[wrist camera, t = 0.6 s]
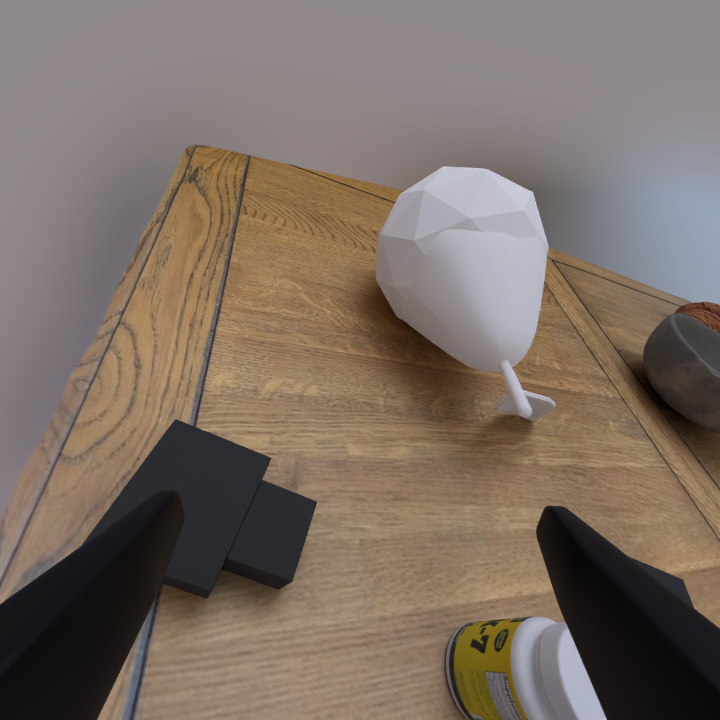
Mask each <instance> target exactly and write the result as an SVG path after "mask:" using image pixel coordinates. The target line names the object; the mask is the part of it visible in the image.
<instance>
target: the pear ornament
mask: <svg viewBox="0 0 720 720" xmlns="http://www.w3.org/2000/svg"><path fill="white" fill-rule="evenodd" d="M548 249H549V247H548V243H547V240H546V236H545V233H544V229H543V226H542V223H541V219H540V215H539V212H538V209H537V205H536V202H535V198H534V195H533V192H531V191H529V190H527V189H525V188H523V187H521V186H519V185H517V184H515V183H513V182H511V181H510V180H508V179H506V178H504V177H502V176H500V175H498V174H496V173H494V172H492V171H490V170H488V169H480V168H479V169H477V168H462V167H444V166H443V167H442V168H440V169H439V170H437V171H436V172H434V173H433V174H431V175H429V176H428V177H426V178H425V179H423V180H421V181H420V182H418V183H417V184H415V185H414V186H412V187H411V188H409V189H407V190H406V191H404V192H402V193H401V194H400V195H399V197H398V199H397V200H396V202H395V204H394V206H393V208H392V210H391V212H390V214H389V216H388V218H387V220H386V222H385V224H384V226H383V228H382V230H381V232H380V234H379V236H378V247H377V264H376V281H377V283H378V284H379V286H380V288H381V290H382V291H383V293H384V295H385V297H386V299H387V300H388V302H389V304H390V306H391V307H392V309H393V311H394V313H395V314H396V316H397V317H398V318H400V319H401V320H403V321H405V322H406V323H407V324H408V325H410V326H411V327H412V328H413V329H415V330H416V331H417V332H419V333H420V334H422V335H423V336H424V337H426V338H427V339H428V340H430V341H431V342H432V343H434V344H435V345H436V346H438V347H439V348H441V349H442V350H444V351H445V352H446V353H448V354H449V355H451V356H452V357H454V358H455V359H457V360H458V361H460V362H461V363H463V364H465V365H467V366H469V367H471V368H474V369H477V370H480V371H483V372H501V373H502V376H503V378H504V380H505V382H506V385H507V387H508V389H509V393H508V394H507V395H506V396H505V397H503V398H502V399H501V400H500V401H499V402H498V403H497V404H496V406H495V409H496V410H497V411H507V412H511V413H514V414H516V415H519V416H521V417H523V418H525V419H528V420H532V421H533V420H537V419H539V418H541V417H543V416H544V415H546V414H548V413H549V412H551V411H552V410H553V409H554V407H555V406H556V405H555V402H554V401H553V400H551V399H550V398H548V397H546V396H542V395H539V394H535V393H531V392H528V391H524V390H522V388H521V385H520V383H519V381H518V379H517V377H516V375H515V373H514V371H513V368H512V367H514V366H515V365H516V364H517V363H519V362H520V361H521V360H522V359H523V358H524V357H525V355H526V354H527V352H528V350H529V348H530V346H531V344H532V342H533V339H534V336H535V332H536V328H537V323H538V317H539V311H540V305H541V299H542V293H543V285H544V277H545V269H546V259H547V253H548Z"/></svg>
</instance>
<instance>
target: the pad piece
mask: <svg viewBox="0 0 720 720" xmlns="http://www.w3.org/2000/svg"><path fill="white" fill-rule="evenodd" d="M270 460H271V458H270V457H267V456H265V455H263V454H260V453H258V452H255V451H253V450H250V449H248V448H245V447H243V446H240V445H238V444H235V443H233V442H231V441H228V440H226V439H223V438H221V437H218V436H216V435H213V434H211V433H208V432H206V431H203V430H201V429H199V428H196V427H194V426H191V425H189V424H186V423H184V422H181V421H179V420H176V419H175V420H174V422H173V423H172V424H171V426H170V427H169V428H168V430H167V431H166V432H165V434H164V435H163V436H162V438H161V439H160V441H159V442H158V443H157V445H156V446H155V447H154V449H153V450H152V451H151V453H150V454H149V455H148V457H147V458H146V459H145V461H144V462H143V463H142V465H141V466H140V468H139V469H138V470H137V472H136V473H135V474H134V476H133V477H132V478H131V480H130V481H129V482H128V484H127V485H126V486H125V488H124V489H123V491H122V492H121V493H120V495H119V496H118V497H117V499H116V500H115V501H114V503H113V504H112V505H111V507H110V508H109V509H108V511H107V512H106V513H105V515H104V516H103V518H102V519H101V520H100V522H99V523H98V524H97V526H96V527H95V528H94V530H93V531H92V532H91V534H90V535H89V536H88V538H87V539H86V540H85V542H84V543H83V545H84V544H85V543H86V542H88V541H89V540H91V539H92V538H93V537H95V536H96V535H98V534H99V533H100V532H102V531H103V530H105V529H106V528H107V527H109V526H110V525H112V524H113V523H114V522H116V521H117V520H119V519H120V518H121V517H123V516H124V515H126V514H127V513H128V512H130V511H131V510H133V509H134V508H135V507H137V506H138V505H140V504H141V503H142V502H144V501H145V500H147V499H148V498H149V497H151V496H152V495H154V494H155V493H156V492H158V491H160V490H176V491H178V492H179V493H180V496H181V500H182V504H183V508H184V512H185V520H184V524H183V527H182V530H181V532H180V535H179V538H178V540H177V543H176V546H175V548H174V551H173V554H172V557H171V559H170V562H169V565H168V567H167V570H166V573H165V576H164V578H163V581H162V583H163V584H166V585H169V586H172V587H175V588H177V589H180V590H183V591H186V592H189V593H192V594H195V595H198V596H201V597H204V598H208V596H209V594H210V593H211V591H212V589H213V587H214V584H215V582H216V580H217V578H218V576H219V573H220V571H221V569H223V570H226V571H229V572H232V573H234V574H237V575H240V576H243V577H246V578H249V579H251V580H254V581H257V582H260V583H263V584H265V585H268V586H271V587H274V588H277V589H280V588H282V587H284V586H285V585H287V584H289V583H291V582H292V581H293V577H294V574H295V571H296V568H297V565H298V561H299V558H300V555H301V552H302V549H303V545H304V542H305V539H306V536H307V533H308V529H309V526H310V523H311V520H312V517H313V513H314V510H315V507H316V504H317V502H316V501H314V500H311V499H309V498H306V497H304V496H301V495H299V494H296V493H294V492H291V491H289V490H286V489H284V488H281V487H279V486H276V485H273V484H271V483H268V482H266V481H263V480H262V478H263V476H264V473H265V471H266V469H267V467H268V465H269V462H270ZM261 480H262V481H261Z"/></svg>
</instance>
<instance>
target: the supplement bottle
mask: <svg viewBox="0 0 720 720" xmlns="http://www.w3.org/2000/svg"><path fill="white" fill-rule="evenodd" d="M446 672H447V679H448V683H449V687H450V690H451V693H452V695H453V698H454V700H455V702H456V704H457V706H458V707H459V709H460V711H461V712H462V713H463V715H464V716H465V717H466V718H467V719H468V720H607V719H606V717H605V715H604V712H603V710H602V707H601V705H600V703H599V700H598V698H597V696H596V693H595V691H594V688H593V686H592V684H591V681H590V679H589V677H588V674H587V672H586V669H585V667H584V665H583V662H582V660H581V658H580V655H579V653H578V650H577V648H576V646H575V643H574V641H573V639H572V636H571V634H570V632H569V629H568V627H567V624H566V623H562V622H560V623H556V622H555V621H553V620H550V619H548V618H544V617H525V618H514V619H502V620H492V621H478V622H470V623H466V624H464V625H462V626H461V627H459V628H458V629H457V630H456V632H455V633H454V634H453V636H452V638H451V640H450V642H449V645H448V648H447V654H446Z"/></svg>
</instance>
